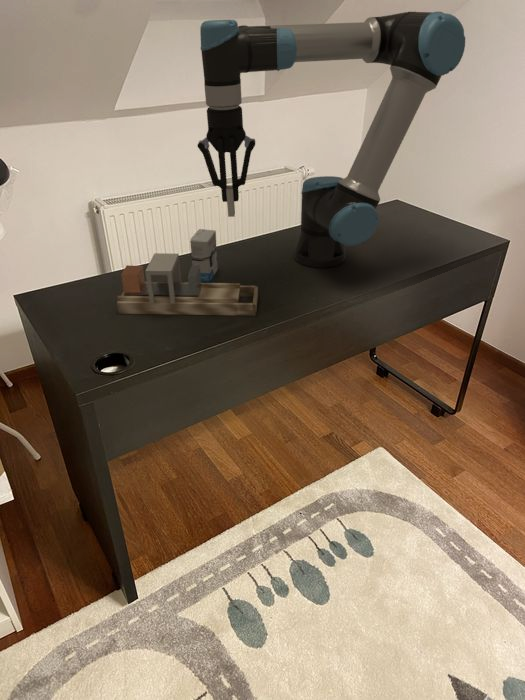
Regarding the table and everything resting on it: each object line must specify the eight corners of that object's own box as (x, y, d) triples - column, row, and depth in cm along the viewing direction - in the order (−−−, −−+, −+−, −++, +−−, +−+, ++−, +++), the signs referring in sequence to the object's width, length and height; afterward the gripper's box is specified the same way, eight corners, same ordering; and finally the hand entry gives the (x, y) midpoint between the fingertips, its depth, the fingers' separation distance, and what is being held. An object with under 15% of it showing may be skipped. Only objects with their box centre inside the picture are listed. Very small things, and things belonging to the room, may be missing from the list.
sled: (201, 287, 132) (199, 265, 129) (197, 298, 127) (196, 276, 124) (130, 286, 133) (127, 264, 129) (124, 297, 128) (120, 275, 124)
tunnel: (181, 284, 134) (178, 253, 129) (174, 303, 126) (171, 271, 121) (158, 284, 134) (154, 253, 129) (149, 303, 126) (145, 270, 121)
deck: (257, 296, 135) (257, 282, 133) (256, 315, 127) (255, 301, 124) (129, 294, 136) (126, 280, 134) (118, 313, 128) (116, 298, 126)
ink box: (210, 282, 142) (207, 241, 135) (192, 281, 142) (189, 240, 136) (218, 269, 148) (216, 229, 142) (202, 267, 149) (199, 228, 143)
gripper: (255, 101, 114) (259, 208, 127) (195, 104, 114) (205, 210, 127) (254, 108, 107) (259, 219, 121) (191, 110, 108) (202, 221, 121)
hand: (231, 214), depth 124 cm, fingers closed
